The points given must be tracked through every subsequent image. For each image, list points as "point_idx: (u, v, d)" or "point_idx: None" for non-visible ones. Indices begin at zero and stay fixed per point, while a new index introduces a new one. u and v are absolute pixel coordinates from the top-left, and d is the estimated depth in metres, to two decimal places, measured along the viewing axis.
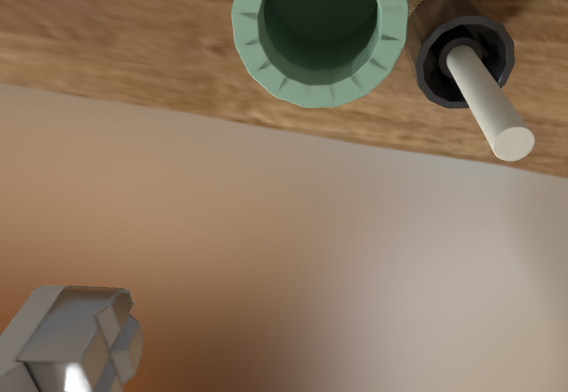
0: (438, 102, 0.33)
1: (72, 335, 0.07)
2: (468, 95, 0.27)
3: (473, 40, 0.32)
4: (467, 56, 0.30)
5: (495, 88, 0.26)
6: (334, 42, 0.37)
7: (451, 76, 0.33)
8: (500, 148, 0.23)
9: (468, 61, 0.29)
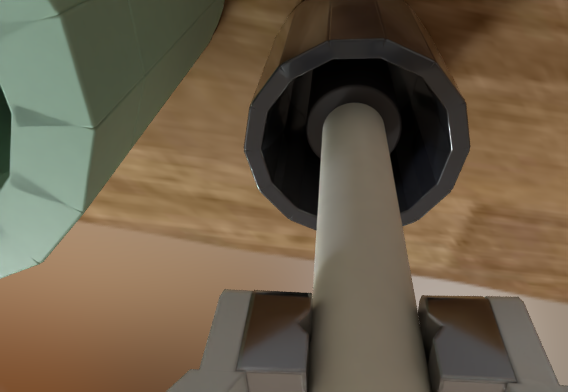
0: (308, 224, 0.15)
1: (284, 343, 0.07)
2: (314, 281, 0.09)
3: (377, 92, 0.14)
4: (348, 139, 0.12)
5: (375, 290, 0.08)
6: None
7: None
8: None
9: (345, 156, 0.11)
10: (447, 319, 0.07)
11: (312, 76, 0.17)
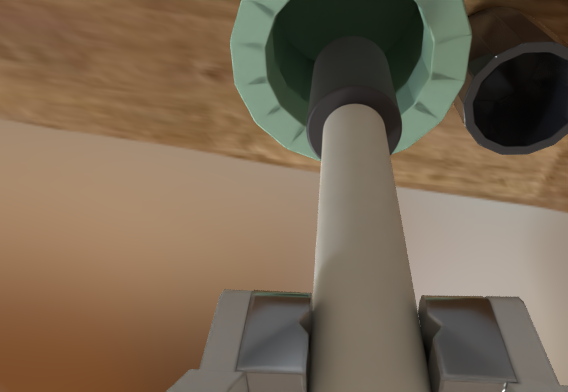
0: (490, 147, 0.26)
1: (284, 343, 0.07)
2: (314, 283, 0.09)
3: (378, 93, 0.14)
4: (349, 140, 0.12)
5: (376, 292, 0.08)
6: None
7: None
8: None
9: (345, 158, 0.11)
10: (447, 319, 0.07)
11: (313, 77, 0.17)
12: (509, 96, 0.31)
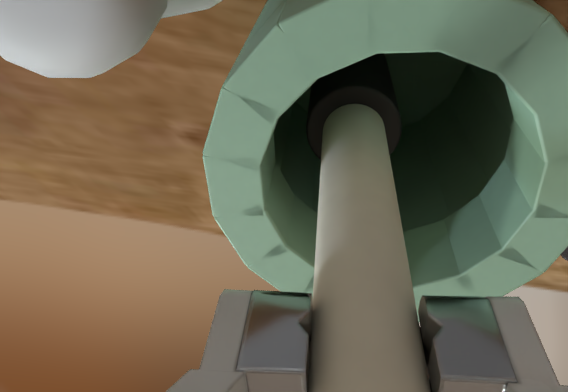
0: None
1: (284, 343, 0.07)
2: (313, 283, 0.09)
3: (378, 93, 0.14)
4: (349, 140, 0.12)
5: (375, 292, 0.08)
6: None
7: None
8: None
9: (345, 157, 0.11)
10: (447, 319, 0.07)
11: None
12: None
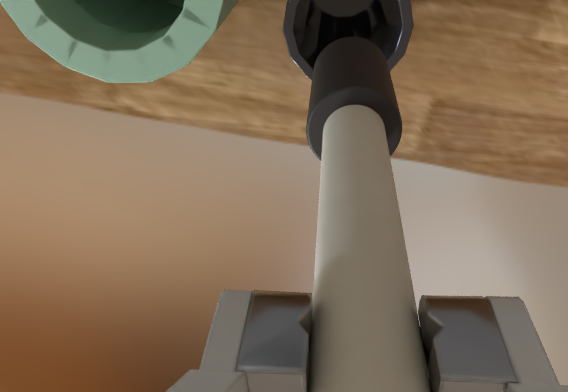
0: None
1: (284, 343, 0.07)
2: (314, 284, 0.09)
3: (378, 94, 0.14)
4: (349, 142, 0.12)
5: (376, 293, 0.08)
6: None
7: None
8: None
9: (345, 159, 0.11)
10: (447, 319, 0.07)
11: (313, 78, 0.17)
12: (366, 37, 0.30)
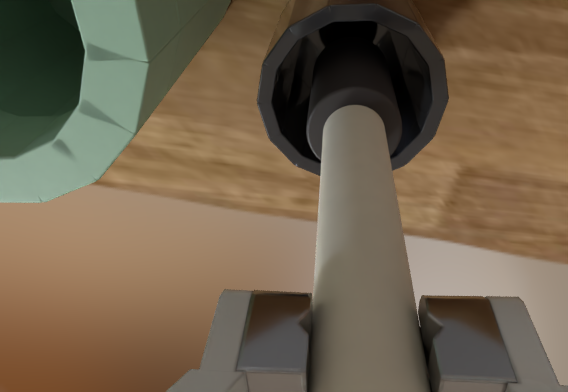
0: (311, 169, 0.17)
1: (284, 343, 0.07)
2: (314, 284, 0.09)
3: (378, 94, 0.14)
4: (349, 142, 0.12)
5: (375, 293, 0.08)
6: None
7: None
8: None
9: (345, 159, 0.12)
10: (447, 319, 0.07)
11: (313, 78, 0.17)
12: None
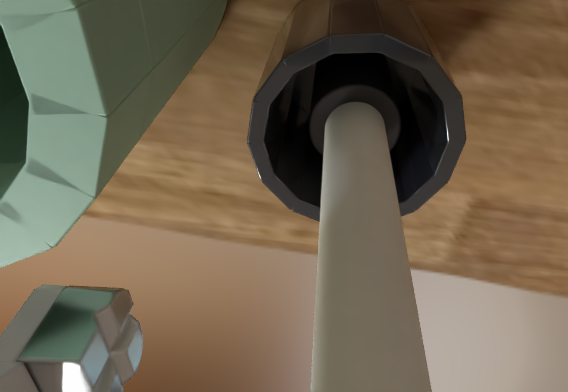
0: (309, 214, 0.15)
1: (72, 335, 0.07)
2: (317, 269, 0.10)
3: (378, 91, 0.14)
4: (350, 136, 0.13)
5: (375, 276, 0.08)
6: None
7: None
8: None
9: (346, 153, 0.12)
10: None
11: (314, 76, 0.18)
12: None
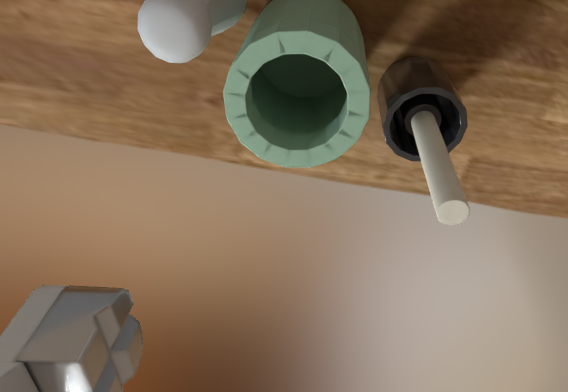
0: (403, 156, 0.38)
1: (72, 335, 0.07)
2: (423, 162, 0.32)
3: (433, 106, 0.37)
4: (426, 123, 0.35)
5: (443, 159, 0.31)
6: (315, 98, 0.42)
7: None
8: (442, 216, 0.28)
9: (426, 129, 0.35)
10: None
11: None
12: None
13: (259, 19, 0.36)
